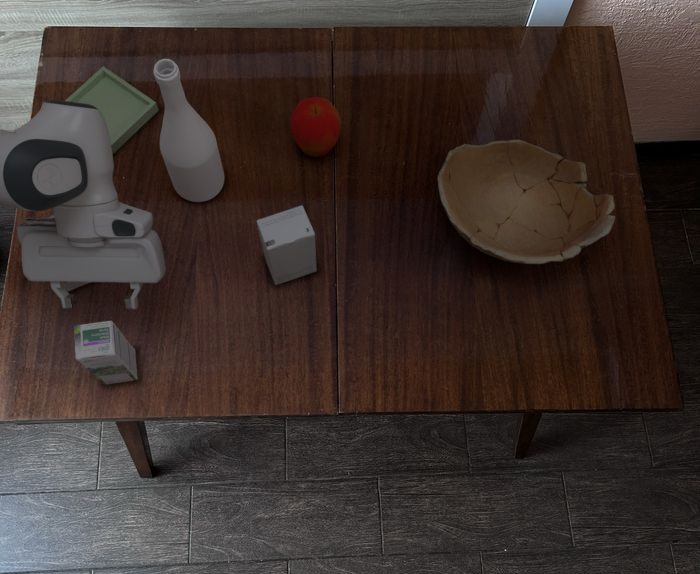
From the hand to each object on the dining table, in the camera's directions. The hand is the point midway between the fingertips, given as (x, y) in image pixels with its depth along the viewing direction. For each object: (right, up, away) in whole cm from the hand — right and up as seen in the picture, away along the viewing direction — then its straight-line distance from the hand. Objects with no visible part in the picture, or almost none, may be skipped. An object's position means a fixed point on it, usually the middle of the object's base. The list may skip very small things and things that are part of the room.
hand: (100, 307), depth 106 cm
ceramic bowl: (+67, +17, +23) cm, 73 cm away
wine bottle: (+10, +25, +23) cm, 35 cm away
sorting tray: (-8, +39, +27) cm, 48 cm away
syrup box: (-1, -9, +11) cm, 14 cm away
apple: (+32, +32, +27) cm, 52 cm away
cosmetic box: (+27, +8, +18) cm, 34 cm away
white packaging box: (-9, +8, +16) cm, 20 cm away
